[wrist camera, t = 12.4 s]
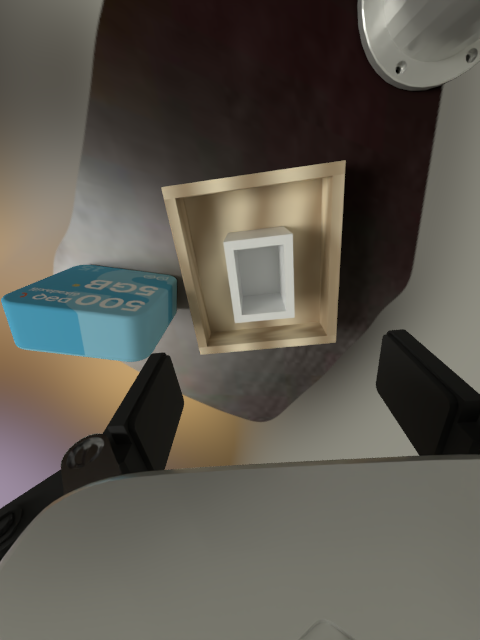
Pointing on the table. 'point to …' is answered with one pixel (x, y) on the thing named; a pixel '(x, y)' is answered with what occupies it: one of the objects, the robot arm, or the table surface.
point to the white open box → (261, 274)
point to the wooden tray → (250, 214)
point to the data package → (93, 312)
